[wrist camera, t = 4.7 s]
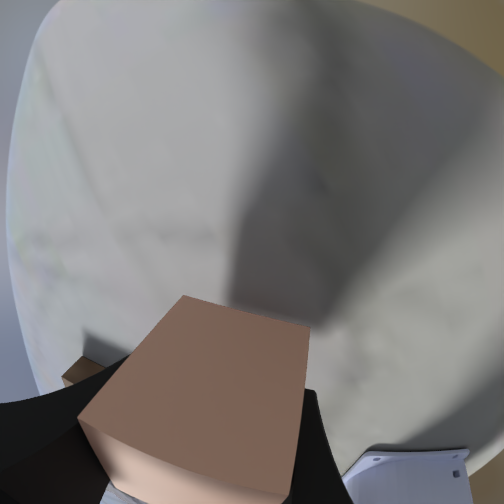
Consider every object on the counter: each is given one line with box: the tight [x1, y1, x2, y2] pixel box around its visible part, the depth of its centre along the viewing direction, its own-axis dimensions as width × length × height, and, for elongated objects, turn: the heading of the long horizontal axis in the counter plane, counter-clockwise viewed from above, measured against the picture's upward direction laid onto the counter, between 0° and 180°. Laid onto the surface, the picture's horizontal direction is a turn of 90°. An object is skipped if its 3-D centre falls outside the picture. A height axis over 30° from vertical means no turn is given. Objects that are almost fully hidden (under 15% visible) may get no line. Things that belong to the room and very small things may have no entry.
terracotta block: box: [77, 295, 310, 504], centre depth 8 cm, size 4×4×6 cm
